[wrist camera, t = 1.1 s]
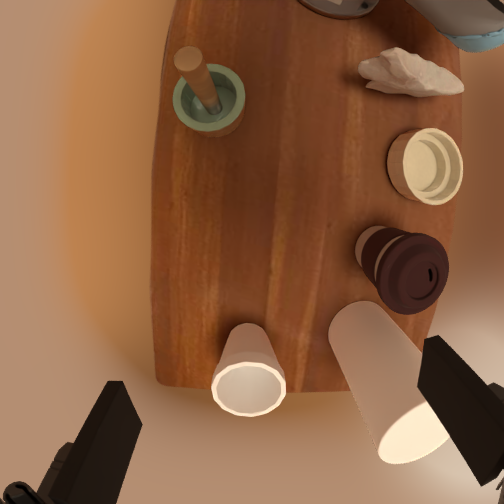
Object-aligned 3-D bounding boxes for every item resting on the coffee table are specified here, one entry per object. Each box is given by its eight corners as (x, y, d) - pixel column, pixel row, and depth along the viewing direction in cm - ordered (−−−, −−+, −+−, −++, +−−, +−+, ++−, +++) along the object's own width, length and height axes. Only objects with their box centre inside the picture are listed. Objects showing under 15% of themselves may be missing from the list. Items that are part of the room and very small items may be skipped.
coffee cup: (337, 271, 47) (372, 313, 33) (357, 208, 45) (403, 227, 30) (391, 284, 48) (437, 325, 34) (410, 226, 46) (466, 250, 31)
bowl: (390, 122, 42) (408, 118, 36) (445, 142, 42) (467, 141, 36) (379, 191, 44) (397, 195, 39) (435, 206, 45) (456, 211, 39)
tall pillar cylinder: (341, 366, 52) (389, 475, 28) (317, 321, 49) (367, 434, 25) (394, 336, 51) (465, 430, 27) (375, 289, 48) (460, 378, 24)
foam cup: (288, 332, 50) (300, 382, 37) (256, 371, 52) (259, 425, 39) (238, 303, 48) (236, 349, 36) (207, 346, 50) (198, 397, 38)
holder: (190, 78, 40) (180, 61, 32) (249, 85, 40) (250, 68, 32) (180, 134, 42) (167, 127, 34) (239, 141, 42) (238, 135, 34)
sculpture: (341, 99, 41) (383, 73, 26) (338, 71, 40) (376, 34, 25) (435, 107, 41) (494, 94, 26) (431, 80, 40) (488, 60, 25)
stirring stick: (207, 99, 40) (176, 44, 20) (223, 101, 40) (205, 46, 20) (205, 114, 40) (170, 70, 20) (220, 116, 40) (199, 72, 20)
